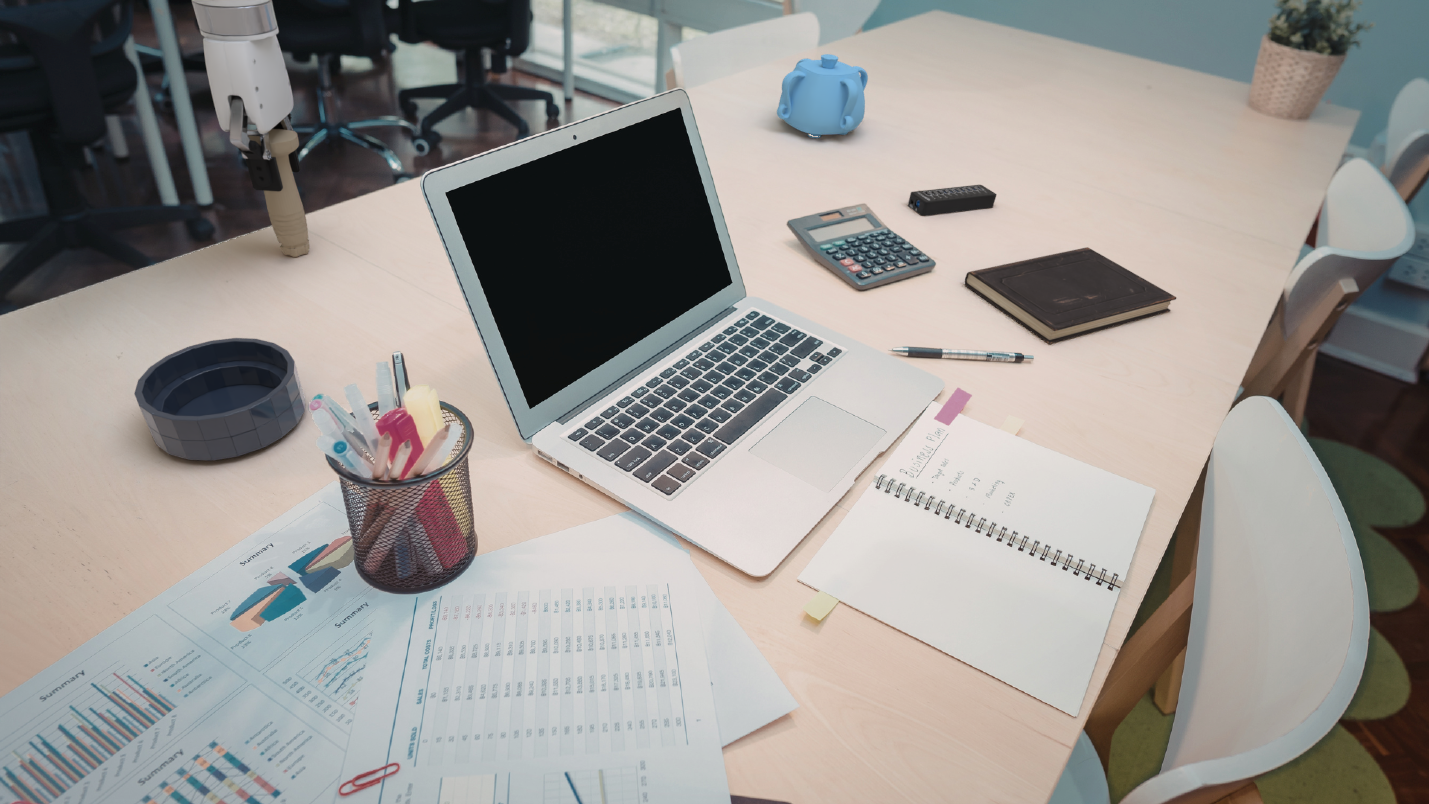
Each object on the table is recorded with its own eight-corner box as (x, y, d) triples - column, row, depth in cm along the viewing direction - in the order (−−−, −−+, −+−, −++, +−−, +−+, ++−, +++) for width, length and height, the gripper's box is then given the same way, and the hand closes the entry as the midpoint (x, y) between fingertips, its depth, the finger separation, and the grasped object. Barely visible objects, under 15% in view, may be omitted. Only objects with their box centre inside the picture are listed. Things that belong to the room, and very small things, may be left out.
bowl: (126, 463, 72) (104, 417, 69) (193, 378, 82) (177, 335, 79) (277, 467, 73) (262, 422, 70) (324, 383, 83) (313, 340, 80)
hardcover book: (1169, 311, 110) (1176, 297, 109) (1049, 344, 101) (1055, 329, 99) (1079, 259, 121) (1084, 245, 120) (962, 284, 112) (967, 269, 110)
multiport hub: (993, 207, 134) (998, 194, 133) (922, 216, 129) (925, 202, 128) (977, 196, 137) (981, 183, 136) (906, 204, 132) (909, 191, 131)
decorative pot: (846, 150, 150) (860, 74, 142) (765, 131, 155) (775, 57, 146) (868, 126, 163) (882, 54, 154) (792, 109, 167) (802, 39, 159)
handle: (271, 245, 105) (239, 129, 96) (325, 242, 106) (299, 128, 97) (266, 262, 101) (232, 144, 92) (322, 259, 103) (294, 143, 94)
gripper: (233, -2, 93) (273, 152, 104) (160, 35, 80) (214, 208, 91) (301, 3, 94) (333, 156, 105) (240, 41, 81) (284, 211, 92)
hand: (277, 178), depth 98 cm, fingers closed on handle, 5 cm apart
